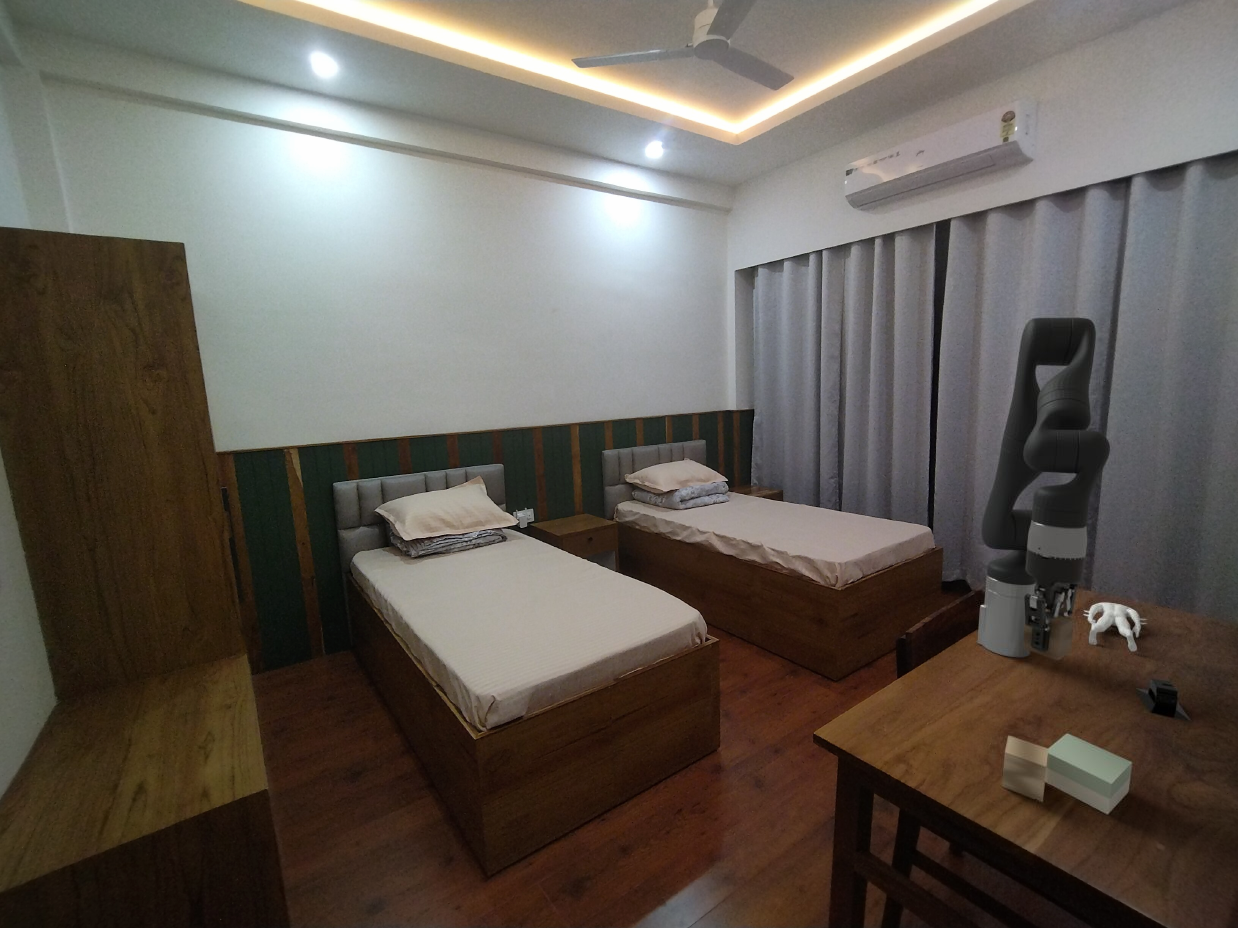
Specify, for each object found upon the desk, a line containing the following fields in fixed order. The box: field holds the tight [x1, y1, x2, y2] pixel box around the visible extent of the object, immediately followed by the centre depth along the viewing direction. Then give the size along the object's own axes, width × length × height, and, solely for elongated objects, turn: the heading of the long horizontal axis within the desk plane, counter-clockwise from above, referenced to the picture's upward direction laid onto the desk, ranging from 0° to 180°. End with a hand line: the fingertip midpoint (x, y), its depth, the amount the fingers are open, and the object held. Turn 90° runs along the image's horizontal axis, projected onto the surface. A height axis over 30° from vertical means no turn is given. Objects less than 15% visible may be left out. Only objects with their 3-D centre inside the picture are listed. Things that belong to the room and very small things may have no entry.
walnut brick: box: [1023, 610, 1075, 661], centre depth 90 cm, size 5×5×6 cm
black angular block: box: [1135, 677, 1193, 723], centre depth 101 cm, size 12×7×5 cm, turn 149°
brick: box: [1001, 735, 1048, 803], centre depth 82 cm, size 5×5×6 cm
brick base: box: [1045, 733, 1133, 815], centre depth 81 cm, size 8×8×5 cm
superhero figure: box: [1083, 602, 1148, 652], centre depth 130 cm, size 12×6×25 cm
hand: (1046, 644), depth 90 cm, fingers closed on walnut brick, 5 cm apart
